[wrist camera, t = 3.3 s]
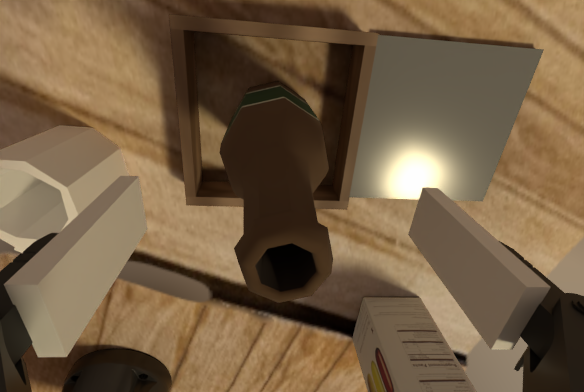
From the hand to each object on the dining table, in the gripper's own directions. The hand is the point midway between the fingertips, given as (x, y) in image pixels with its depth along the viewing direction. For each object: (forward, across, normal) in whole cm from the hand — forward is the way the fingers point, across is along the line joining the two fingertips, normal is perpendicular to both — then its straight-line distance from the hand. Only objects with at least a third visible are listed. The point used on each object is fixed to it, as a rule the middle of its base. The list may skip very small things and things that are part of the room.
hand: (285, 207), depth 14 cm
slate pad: (+20, +18, 0) cm, 26 cm away
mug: (+20, -20, -8) cm, 30 cm away
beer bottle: (+20, 0, 0) cm, 20 cm away
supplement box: (+20, +19, -30) cm, 41 cm away
